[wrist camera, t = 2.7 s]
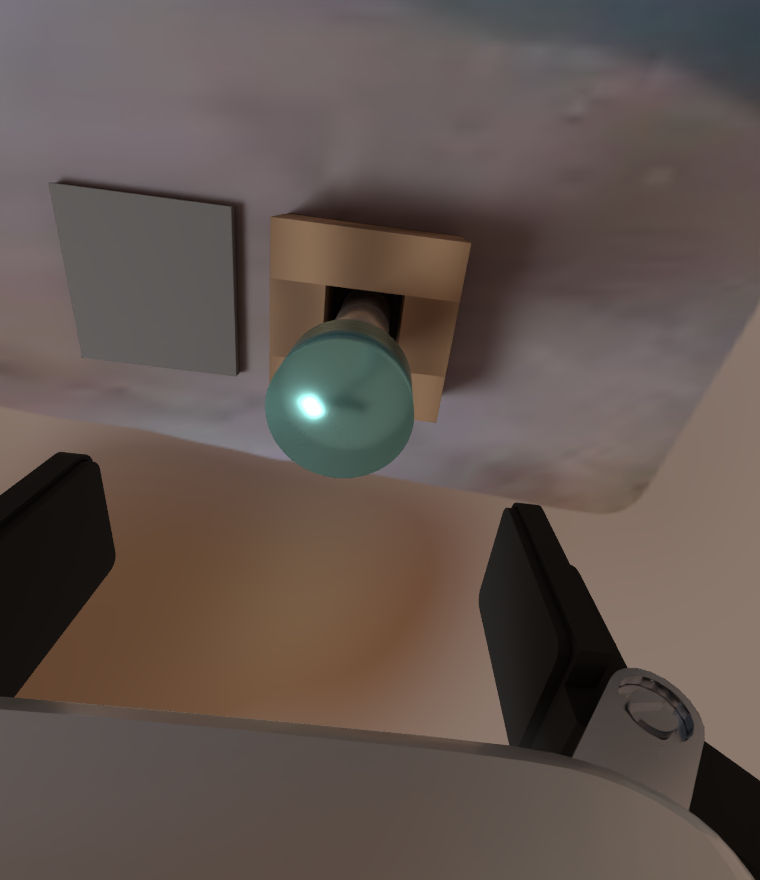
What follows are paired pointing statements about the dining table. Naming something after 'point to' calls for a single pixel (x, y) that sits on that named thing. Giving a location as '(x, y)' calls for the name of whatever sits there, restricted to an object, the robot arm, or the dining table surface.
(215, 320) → the rubber pad
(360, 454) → the teal capped rod
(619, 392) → the dining table surface
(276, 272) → the eye block
